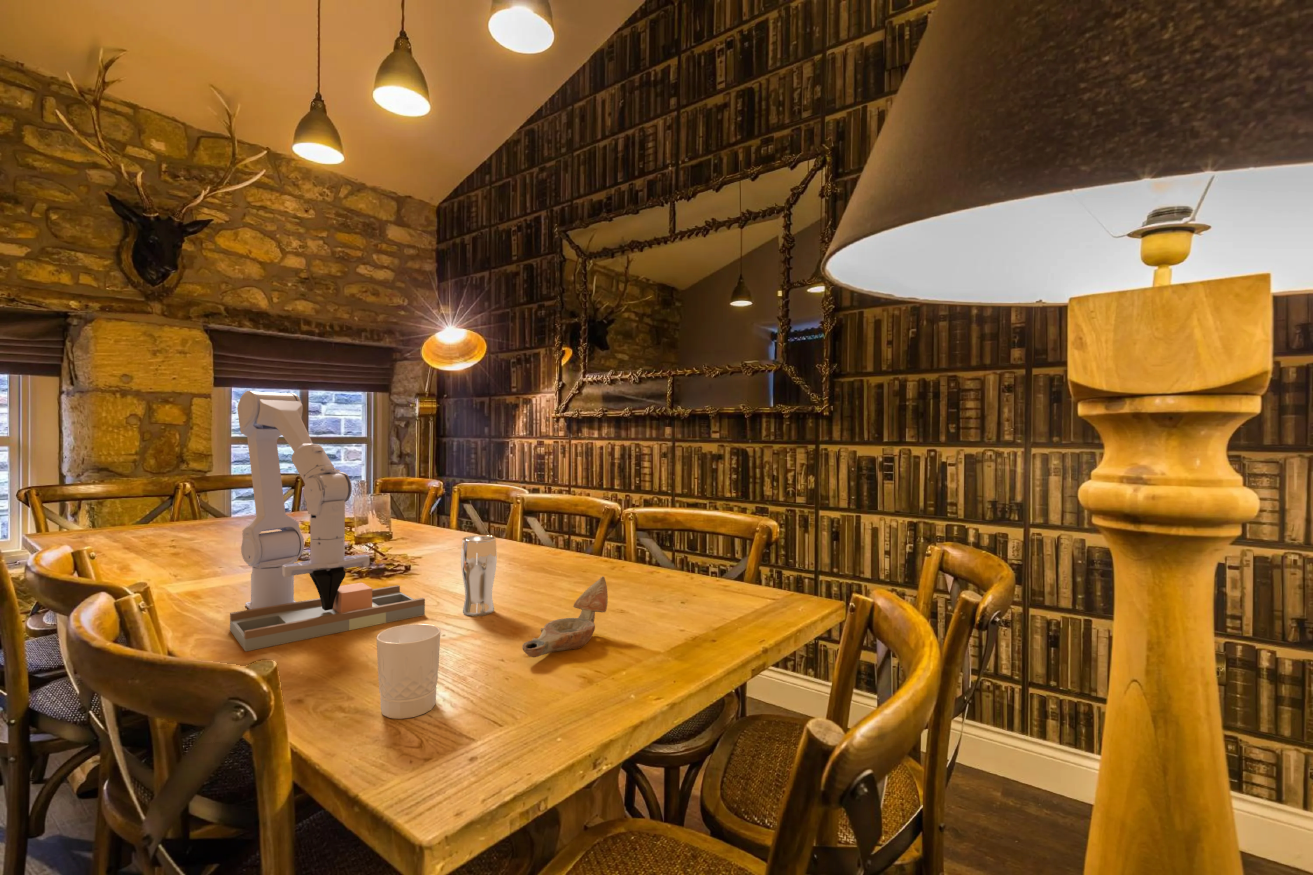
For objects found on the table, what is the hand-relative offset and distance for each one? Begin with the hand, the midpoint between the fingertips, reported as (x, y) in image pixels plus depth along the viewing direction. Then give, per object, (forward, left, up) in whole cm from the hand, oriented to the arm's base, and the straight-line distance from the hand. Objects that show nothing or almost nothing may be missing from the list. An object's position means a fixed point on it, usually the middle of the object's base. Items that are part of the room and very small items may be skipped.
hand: (327, 608), depth 116 cm
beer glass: (+12, +25, -3) cm, 28 cm away
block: (0, +4, -1) cm, 4 cm away
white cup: (+45, -2, -3) cm, 45 cm away
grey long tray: (0, +1, -3) cm, 3 cm away
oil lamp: (+40, +27, -3) cm, 48 cm away
